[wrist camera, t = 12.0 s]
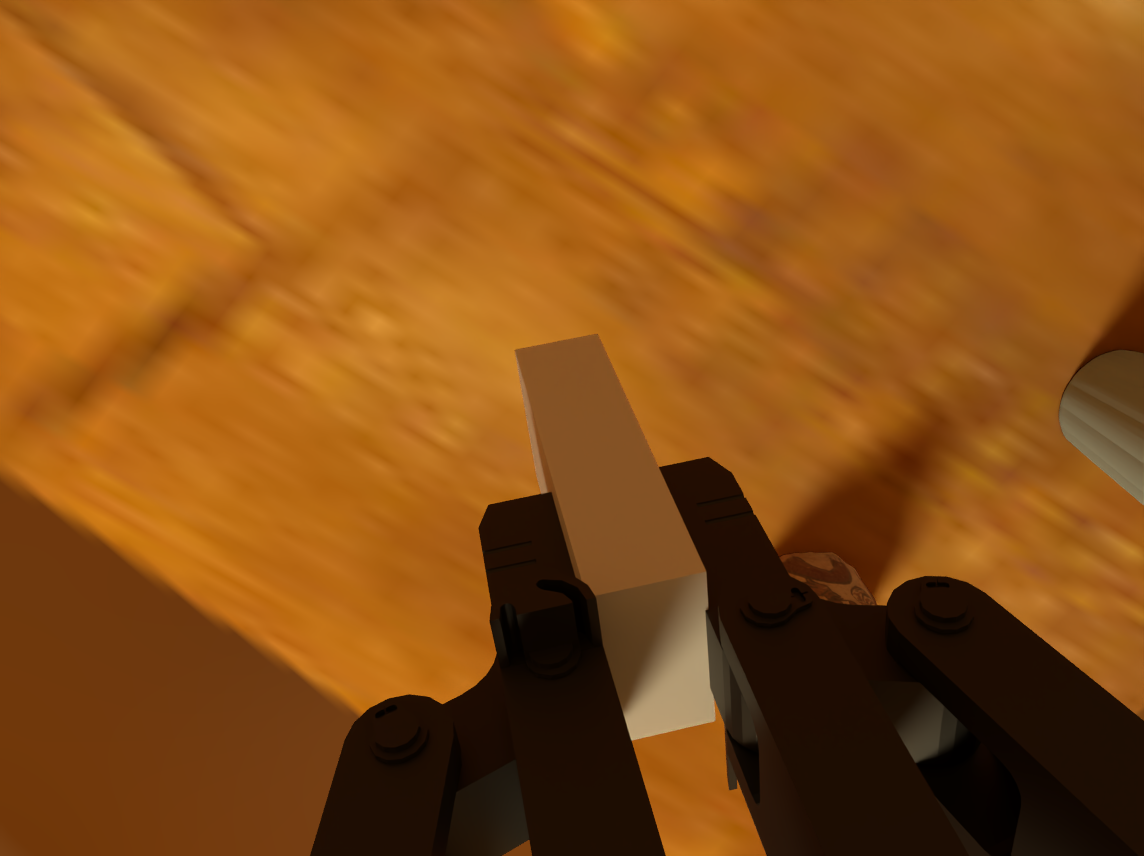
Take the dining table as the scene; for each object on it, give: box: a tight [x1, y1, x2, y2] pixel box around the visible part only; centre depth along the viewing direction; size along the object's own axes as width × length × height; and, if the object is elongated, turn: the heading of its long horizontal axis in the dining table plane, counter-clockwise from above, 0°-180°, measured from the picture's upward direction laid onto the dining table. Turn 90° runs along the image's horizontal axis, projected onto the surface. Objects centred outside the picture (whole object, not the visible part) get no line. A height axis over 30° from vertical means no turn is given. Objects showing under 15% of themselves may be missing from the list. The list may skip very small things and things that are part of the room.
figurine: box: [779, 552, 877, 605], centre depth 46 cm, size 7×7×12 cm
